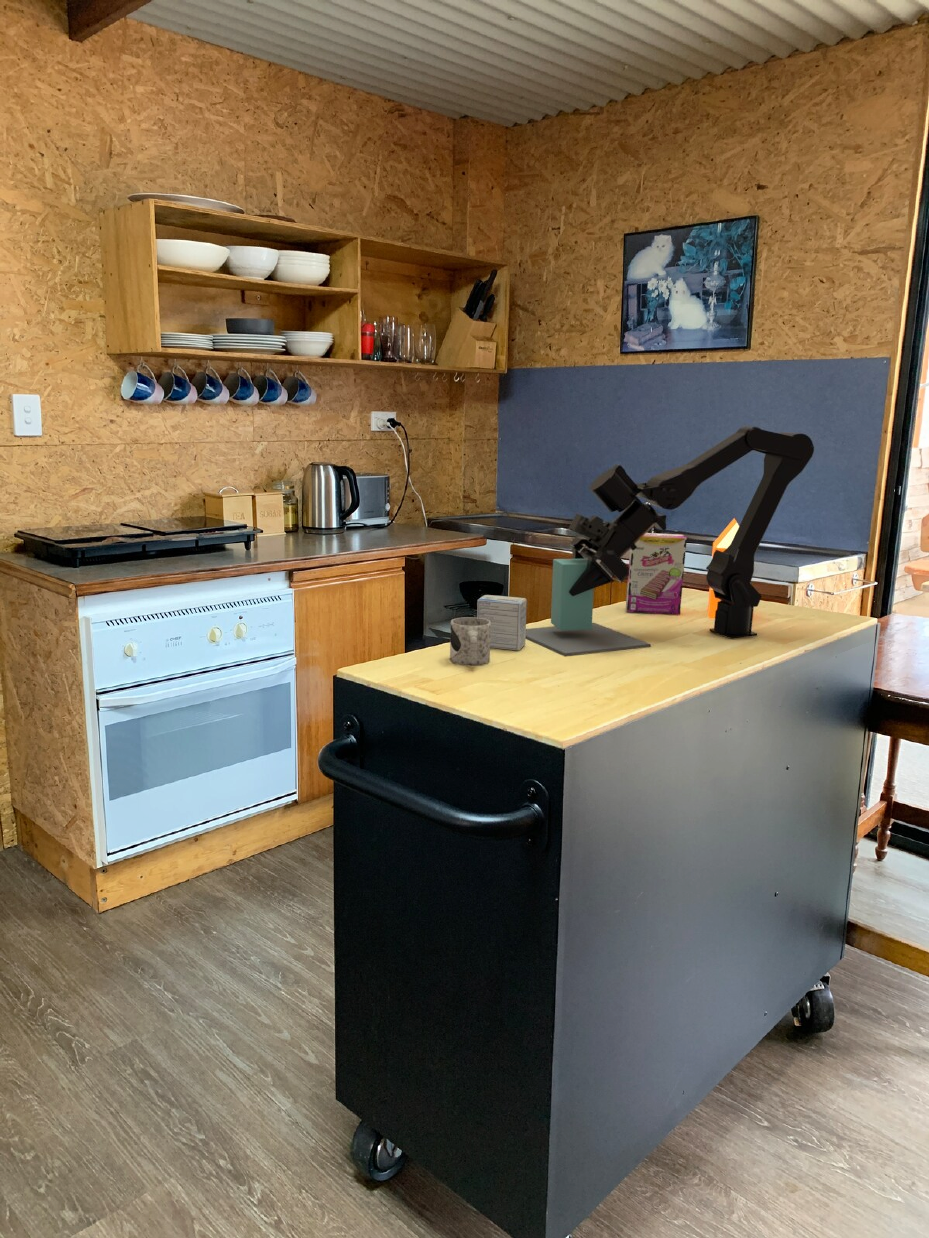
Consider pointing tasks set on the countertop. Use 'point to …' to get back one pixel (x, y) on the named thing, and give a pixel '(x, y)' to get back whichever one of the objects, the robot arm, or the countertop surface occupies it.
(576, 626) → the teal block
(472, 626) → the mug
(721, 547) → the orange juice
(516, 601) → the medicine box
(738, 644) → the countertop surface
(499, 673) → the countertop surface
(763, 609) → the countertop surface
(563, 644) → the charcoal mat
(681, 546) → the candy bar box
